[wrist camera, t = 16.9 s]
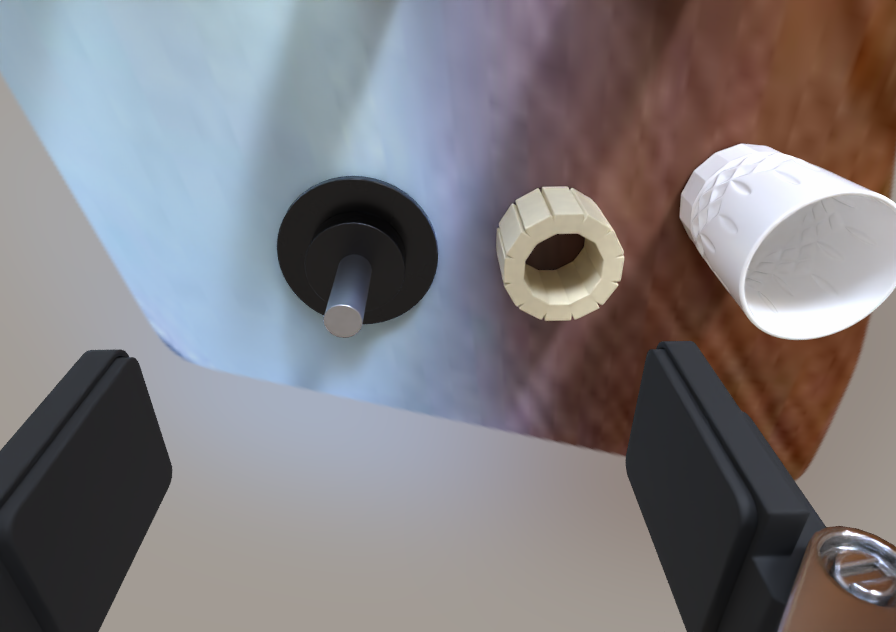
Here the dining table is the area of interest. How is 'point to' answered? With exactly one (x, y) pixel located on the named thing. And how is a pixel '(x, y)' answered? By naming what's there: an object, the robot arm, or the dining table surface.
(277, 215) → the dining table surface
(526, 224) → the tape roll
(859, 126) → the dining table surface
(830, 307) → the white cup
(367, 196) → the tape stand
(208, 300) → the dining table surface
